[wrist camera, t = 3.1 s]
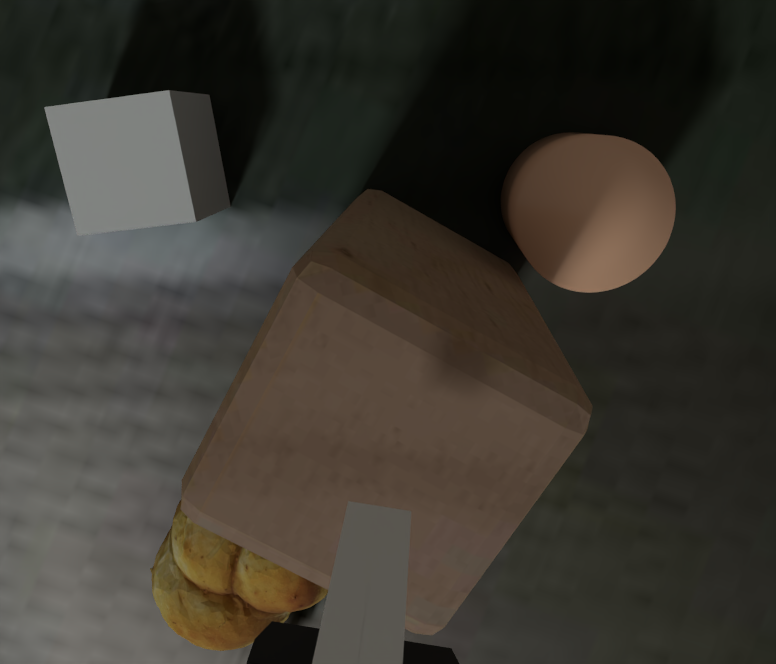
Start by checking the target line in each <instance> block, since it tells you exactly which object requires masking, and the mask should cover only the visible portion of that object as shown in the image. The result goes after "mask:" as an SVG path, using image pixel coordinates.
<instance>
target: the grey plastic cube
mask: <svg viewBox="0 0 776 664" xmlns="http://www.w3.org/2000/svg"><path fill="white" fill-rule="evenodd" d="M44 108H45V112H46V116H47V120H48V124H49V127H50V131H51V135H52V139H53V143H54V147H55V151H56V154H57V158H58V162H59V166H60V170H61V174H62V178H63V181H64V185H65V189H66V193H67V197H68V201H69V205H70V209H71V212H72V216H73V220H74V224H75V228H76V232H77V236H80V235H89V234H97V233H105V232H114V231H122V230H131V229H139V228H148V227H156V226H164V225H173V224H181V223H190V222H197V221H199V220H201V219H204V218H206V217H208V216H210V215H213V214H215V213H217V212H219V211H222V210H224V209H226V208H229V207H231V206H230V201H229V195H228V190H227V185H226V180H225V174H224V169H223V164H222V159H221V153H220V148H219V143H218V137H217V132H216V127H215V122H214V116H213V111H212V106H211V101H210V95H207V94H198V93H190V92H181V91H172V90H166V91H159V92H152V93H145V94H137V95H130V96H123V97H116V98H108V99H101V100H94V101H86V102H79V103H72V104H65V105H57V106H50V107H44Z"/></svg>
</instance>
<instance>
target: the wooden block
mask: <svg viewBox="0 0 776 664" xmlns="http://www.w3.org/2000/svg"><path fill="white" fill-rule="evenodd" d="M591 411H592V404H591V402H590V401H589V399H588V397H587V395H586V394H585V392H584V390H583V388H582V387H581V385H580V383H579V381H578V380H577V378H576V376H575V374H574V373H573V371H572V369H571V367H570V366H569V364H568V362H567V360H566V359H565V357H564V355H563V353H562V352H561V350H560V348H559V346H558V345H557V343H556V341H555V339H554V338H553V336H552V334H551V332H550V331H549V329H548V327H547V325H546V324H545V322H544V320H543V318H542V317H541V315H540V313H539V311H538V310H537V308H536V306H535V304H534V303H533V301H532V299H531V297H530V296H529V294H528V292H527V290H526V289H525V287H524V285H523V283H522V282H521V280H520V278H519V276H518V275H517V273H516V272H515V271H514V269H513V268H512V267H511V265H510V264H509V263H508V262H506V261H504V260H502V259H501V258H499V257H497V256H495V255H494V254H492V253H490V252H488V251H487V250H485V249H483V248H481V247H480V246H478V245H476V244H474V243H473V242H471V241H469V240H467V239H466V238H464V237H462V236H460V235H459V234H457V233H455V232H453V231H452V230H450V229H448V228H446V227H445V226H443V225H441V224H439V223H438V222H436V221H434V220H432V219H431V218H429V217H427V216H425V215H424V214H422V213H420V212H418V211H417V210H415V209H413V208H411V207H410V206H408V205H406V204H404V203H403V202H401V201H399V200H397V199H396V198H394V197H392V196H390V195H389V194H387V193H385V192H383V191H381V190H372V189H367V190H366V191H365V192H363V193H362V194H361V195H360V196H358V197H357V198H356V199H355V200H354V201H353V202H352V203H351V205H350V206H349V207H348V208H347V209H346V210H345V211H344V212H343V213H342V214H341V215H340V216H339V217H338V219H337V220H336V221H335V222H334V223H333V224H332V225H331V226H330V227H329V228H328V229H327V230H326V232H325V233H324V234H323V235H322V236H321V237H320V238H319V239H318V240H317V241H316V242H315V243H314V244H313V246H312V247H311V248H310V249H309V250H308V251H307V252H306V253H305V254H304V255H303V256H302V257H301V258H300V260H299V261H298V262H297V263H296V264H295V265H294V266H293V267H292V269H291V271H290V273H289V275H288V277H287V279H286V281H285V283H284V284H283V286H282V288H281V290H280V292H279V294H278V296H277V298H276V300H275V302H274V304H273V306H272V308H271V309H270V311H269V313H268V315H267V317H266V319H265V321H264V323H263V325H262V327H261V329H260V331H259V333H258V335H257V336H256V338H255V340H254V342H253V344H252V346H251V348H250V350H249V352H248V354H247V356H246V358H245V360H244V361H243V363H242V365H241V367H240V369H239V371H238V373H237V375H236V377H235V379H234V381H233V383H232V385H231V386H230V388H229V390H228V392H227V394H226V396H225V398H224V400H223V402H222V404H221V406H220V408H219V410H218V412H217V413H216V415H215V417H214V419H213V421H212V423H211V425H210V427H209V429H208V431H207V433H206V435H205V437H204V438H203V440H202V442H201V444H200V446H199V448H198V450H197V452H196V454H195V456H194V458H193V460H192V462H191V463H190V465H189V467H188V469H187V471H186V473H185V475H184V477H183V479H182V499H181V510H182V511H183V512H184V513H185V515H186V516H187V517H188V518H189V519H190V520H191V521H192V522H193V523H195V524H197V525H199V526H201V527H203V528H205V529H207V530H209V531H211V532H213V533H215V534H217V535H219V536H221V537H223V538H225V539H227V540H229V541H231V542H233V543H235V544H237V545H239V546H241V547H243V548H245V549H247V550H249V551H251V552H253V553H255V554H257V555H259V556H261V557H263V558H265V559H267V560H269V561H271V562H273V563H275V564H277V565H279V566H281V567H283V568H285V569H287V570H289V571H291V572H293V573H295V574H297V575H299V576H301V577H303V578H305V579H307V580H309V581H311V582H313V583H315V584H317V585H319V586H321V587H323V588H325V589H327V590H329V585H330V581H331V576H332V572H333V567H334V563H335V558H336V554H337V549H338V545H339V540H340V536H341V531H342V527H343V522H344V518H345V513H346V509H347V504H348V501H350V502H357V503H363V504H369V505H376V506H382V507H388V508H395V509H401V510H407V511H411V526H410V544H409V561H408V579H407V597H406V614H405V629H407V630H409V631H411V632H413V633H417V634H425V635H433V634H434V633H436V632H438V631H439V630H441V629H443V628H444V627H445V626H446V624H447V623H448V622H449V620H450V619H451V617H452V616H453V615H454V613H455V612H456V611H457V609H458V608H459V606H460V605H461V604H462V602H463V601H464V600H465V598H466V597H467V595H468V594H469V593H470V591H471V590H472V589H473V587H474V586H475V584H476V583H477V582H478V580H479V579H480V578H481V576H482V575H483V573H484V572H485V571H486V569H487V568H488V567H489V565H490V564H491V562H492V561H493V560H494V558H495V557H496V556H497V554H498V553H499V551H500V550H501V549H502V547H503V546H504V545H505V543H506V542H507V540H508V539H509V538H510V536H511V535H512V534H513V532H514V531H515V529H516V528H517V527H518V525H519V524H520V523H521V521H522V520H523V518H524V517H525V516H526V514H527V513H528V512H529V510H530V509H531V507H532V506H533V505H534V503H535V502H536V501H537V499H538V498H539V496H540V495H541V494H542V492H543V491H544V490H545V488H546V487H547V485H548V484H549V483H550V481H551V480H552V479H553V477H554V476H555V474H556V473H557V472H558V470H559V469H560V468H561V466H562V465H563V463H564V462H565V461H566V459H567V458H568V457H569V455H570V454H571V453H572V451H573V450H574V448H575V447H576V446H577V444H578V443H579V442H580V440H581V439H582V437H583V436H584V434H585V433H586V431H587V428H588V424H589V419H590V416H591Z"/></svg>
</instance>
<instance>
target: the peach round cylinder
mask: <svg viewBox="0 0 776 664" xmlns="http://www.w3.org/2000/svg"><path fill="white" fill-rule="evenodd" d="M675 209H676V206H675V195H674V190H673V186H672V183H671V181H670V178H669V176H668V174H667V172H666V170H665V168H664V167H663V166H662V164H661V163H660V161H659V160H658V159H657V158H656V157H655V156H654V155H653V154H652V153H651V152H649V151H648V150H647V149H645V148H644V147H643V146H641V145H639V144H637V143H635V142H633V141H631V140H628V139H625V138H621V137H617V136H609V135H598V134H586V133H574V132H566V133H558V134H553V135H550V136H547V137H544V138H542V139H540V140H538V141H536V142H535V143H533V144H532V145H530V146H529V147H528V148H526V149H525V150H524V151H523V152H522V153H521V154H520V155H519V156H518V157H517V158H516V160H515V161H514V162H513V164H512V165H511V167H510V169H509V170H508V172H507V174H506V177H505V179H504V182H503V186H502V191H501V212H502V217H503V221H504V224H505V226H506V228H507V231H508V232H509V234H510V235H511V237H512V239H513V240H514V241H515V243H516V244H517V246H518V247H519V249H520V250H521V251H522V253H523V254H524V256H525V257H526V259H527V260H528V261H529V263H530V264H531V265H532V266H533V268H534V269H535V270H536V271H537V272H538V273H539V274H540V275H541V276H543V277H544V278H545V279H547V280H548V281H550V282H551V283H553V284H555V285H557V286H559V287H562V288H565V289H568V290H572V291H577V292H601V291H607V290H611V289H614V288H617V287H620V286H622V285H624V284H627V283H629V282H630V281H632V280H634V279H636V278H637V277H638V276H640V275H641V274H642V273H644V272H645V271H646V270H647V269H648V268H649V267H650V266H651V265H652V264H653V263H654V262H655V261H656V259H657V258H658V257H659V256H660V254H661V253H662V251H663V250H664V248H665V246H666V244H667V242H668V240H669V238H670V235H671V232H672V229H673V225H674V220H675Z"/></svg>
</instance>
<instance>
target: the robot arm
mask: <svg viewBox="0 0 776 664" xmlns="http://www.w3.org/2000/svg"><path fill="white" fill-rule="evenodd" d="M410 526H411V511H407V510H401V509H395V508H388V507H382V506H376V505H369V504H363V503H357V502H350V501H348V504H347V509H346V513H345V518H344V522H343V527H342V531H341V536H340V540H339V545H338V549H337V554H336V558H335V563H334V567H333V572H332V576H331V581H330V585H329V590H328V594H327V599H326V603H325V607H324V612H323V616H322V621H321V625H320V629H318V628H311V627H305V626H299V625H293V624H287V623H281V622H274V621H272V622H271V623H270V624H269V625H268V626H267V627H266V628H265V629H264V630H263V631H262V632H261V633H260V634H259V635H258V636H257V637H256V638H255V640H254V643H253V646H252V649H251V651H250V654H249V657H248V660H247V664H459V662H458V660H457V659H456V657H455V655H454V653H453V651H452V649H451V648H446V647H439V646H433V645H427V644H421V643H415V642H409V641H404V632H405V614H406V597H407V579H408V561H409V544H410Z"/></svg>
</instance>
